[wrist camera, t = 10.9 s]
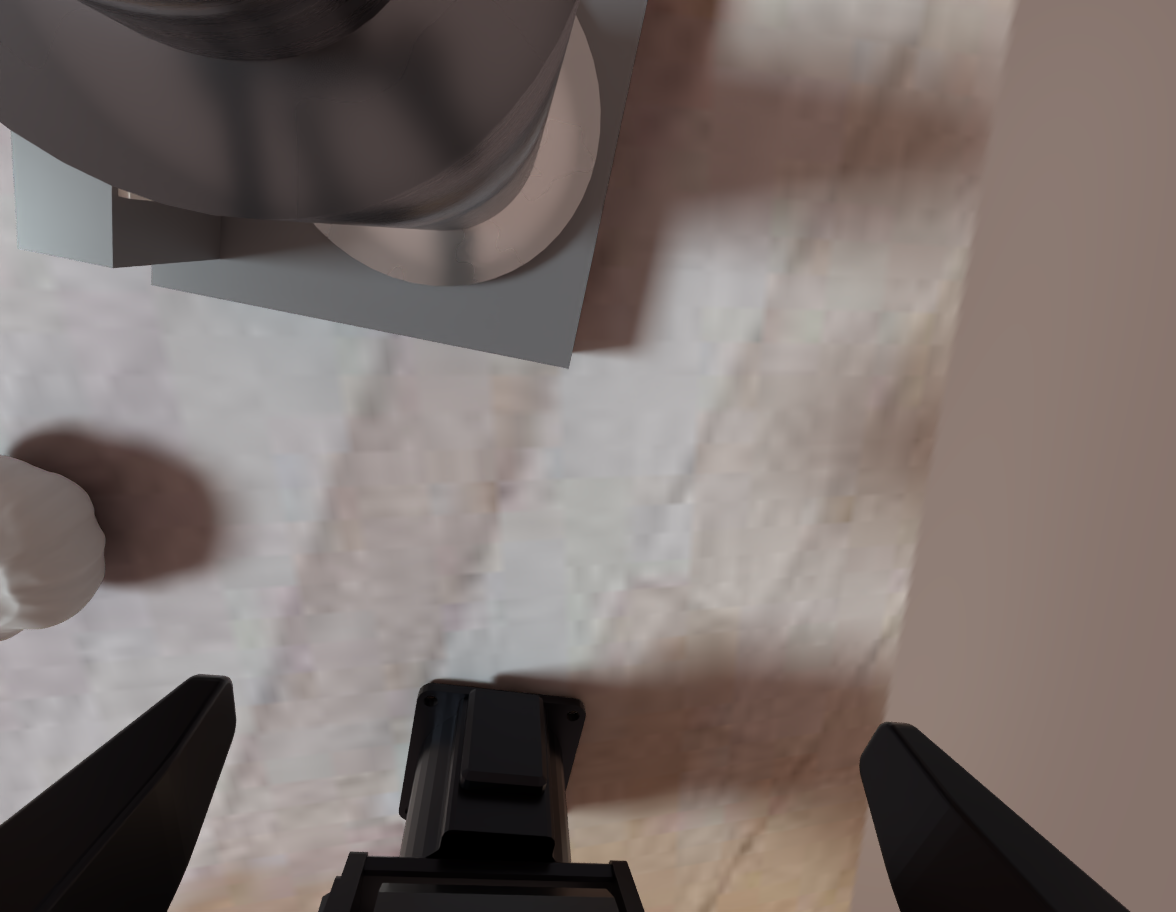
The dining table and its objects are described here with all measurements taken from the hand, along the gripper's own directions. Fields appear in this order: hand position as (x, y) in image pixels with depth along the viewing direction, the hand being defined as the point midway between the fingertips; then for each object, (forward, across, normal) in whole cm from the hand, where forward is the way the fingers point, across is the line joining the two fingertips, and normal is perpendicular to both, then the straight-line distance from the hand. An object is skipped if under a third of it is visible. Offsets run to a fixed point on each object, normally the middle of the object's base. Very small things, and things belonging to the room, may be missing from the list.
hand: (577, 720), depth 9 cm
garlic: (+13, +16, +7) cm, 21 cm away
